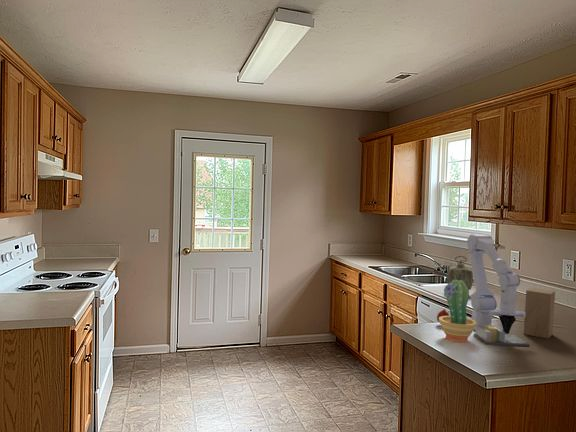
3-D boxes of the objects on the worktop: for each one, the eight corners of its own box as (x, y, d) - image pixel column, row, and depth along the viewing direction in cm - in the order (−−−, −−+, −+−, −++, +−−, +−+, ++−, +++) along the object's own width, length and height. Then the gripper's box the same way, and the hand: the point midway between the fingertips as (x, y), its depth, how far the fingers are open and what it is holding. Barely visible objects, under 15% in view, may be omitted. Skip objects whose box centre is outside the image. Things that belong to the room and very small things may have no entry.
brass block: (482, 336, 195) (483, 324, 194) (490, 336, 195) (491, 324, 195) (489, 340, 189) (490, 328, 188) (497, 340, 189) (498, 328, 189)
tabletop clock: (469, 294, 293) (471, 255, 292) (472, 297, 284) (475, 257, 283) (445, 292, 295) (448, 254, 294) (448, 295, 286) (451, 256, 285)
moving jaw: (488, 334, 197) (488, 325, 197) (492, 334, 197) (493, 325, 197) (499, 341, 187) (500, 331, 187) (504, 341, 187) (504, 332, 187)
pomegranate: (434, 325, 213) (435, 308, 213) (440, 323, 217) (441, 306, 217) (446, 328, 209) (447, 310, 209) (451, 326, 213) (452, 309, 213)
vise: (473, 335, 198) (474, 324, 198) (514, 337, 198) (514, 326, 198) (486, 344, 186) (486, 332, 186) (529, 346, 186) (530, 334, 186)
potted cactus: (434, 332, 201) (437, 276, 200) (470, 334, 199) (473, 278, 198) (441, 343, 186) (445, 282, 185) (481, 346, 184) (484, 284, 183)
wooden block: (528, 329, 212) (530, 287, 211) (552, 334, 205) (555, 291, 205) (523, 334, 204) (525, 290, 203) (548, 339, 198) (551, 293, 197)
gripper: (495, 302, 188) (493, 335, 188) (530, 304, 188) (528, 336, 188) (487, 299, 195) (486, 330, 195) (521, 300, 195) (519, 331, 195)
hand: (506, 333), depth 192 cm, fingers closed
